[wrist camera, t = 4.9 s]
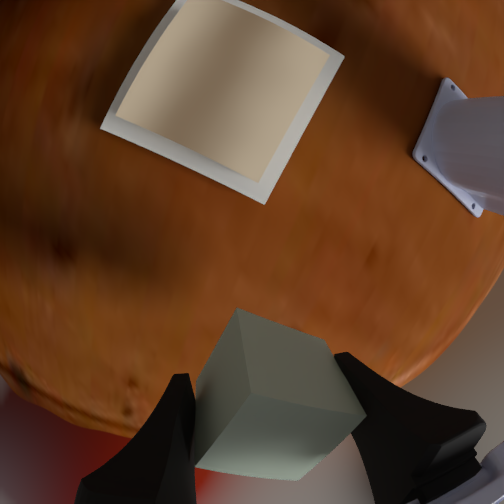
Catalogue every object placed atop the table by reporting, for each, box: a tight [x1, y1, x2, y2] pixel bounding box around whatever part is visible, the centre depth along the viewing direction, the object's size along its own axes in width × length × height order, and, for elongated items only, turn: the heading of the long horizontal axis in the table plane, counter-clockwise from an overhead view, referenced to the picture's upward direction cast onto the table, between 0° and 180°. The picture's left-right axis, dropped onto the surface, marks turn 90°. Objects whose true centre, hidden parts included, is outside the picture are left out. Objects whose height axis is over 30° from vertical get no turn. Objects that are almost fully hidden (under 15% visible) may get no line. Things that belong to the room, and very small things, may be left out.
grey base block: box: [100, 0, 345, 205], centre depth 15 cm, size 10×10×3 cm
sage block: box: [195, 308, 367, 481], centre depth 11 cm, size 4×4×5 cm
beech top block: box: [115, 0, 330, 183], centre depth 13 cm, size 7×7×3 cm
